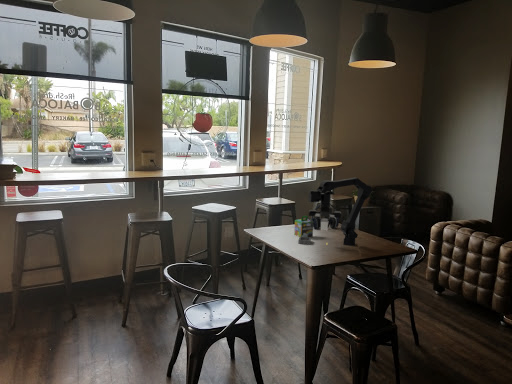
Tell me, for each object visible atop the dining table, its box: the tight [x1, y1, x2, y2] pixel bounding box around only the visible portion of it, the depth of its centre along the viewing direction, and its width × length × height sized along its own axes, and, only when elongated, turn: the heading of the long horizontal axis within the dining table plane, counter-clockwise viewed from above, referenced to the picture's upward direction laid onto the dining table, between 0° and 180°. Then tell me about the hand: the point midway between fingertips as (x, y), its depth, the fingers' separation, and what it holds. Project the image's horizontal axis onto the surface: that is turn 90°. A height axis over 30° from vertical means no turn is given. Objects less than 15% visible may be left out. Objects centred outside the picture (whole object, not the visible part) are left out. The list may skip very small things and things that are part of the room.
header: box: [297, 237, 312, 246], centre depth 240 cm, size 7×9×2 cm
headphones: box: [310, 203, 340, 230], centre depth 282 cm, size 20×7×18 cm, turn 101°
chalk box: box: [294, 215, 314, 238], centre depth 256 cm, size 9×9×15 cm
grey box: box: [320, 218, 329, 232], centre depth 233 cm, size 4×5×6 cm
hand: (324, 227), depth 233 cm, fingers closed on grey box, 4 cm apart
